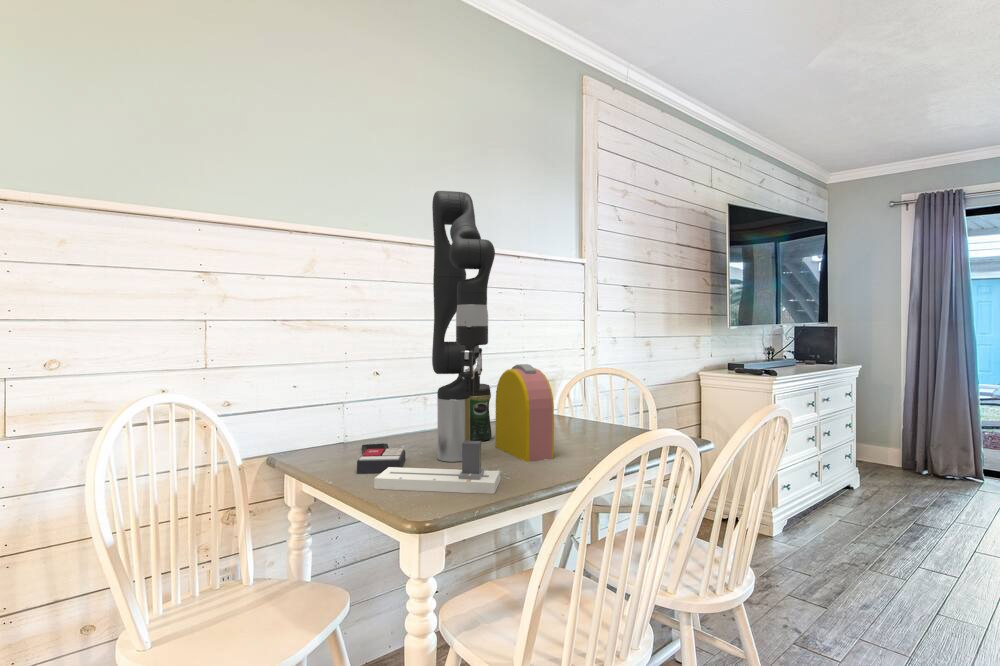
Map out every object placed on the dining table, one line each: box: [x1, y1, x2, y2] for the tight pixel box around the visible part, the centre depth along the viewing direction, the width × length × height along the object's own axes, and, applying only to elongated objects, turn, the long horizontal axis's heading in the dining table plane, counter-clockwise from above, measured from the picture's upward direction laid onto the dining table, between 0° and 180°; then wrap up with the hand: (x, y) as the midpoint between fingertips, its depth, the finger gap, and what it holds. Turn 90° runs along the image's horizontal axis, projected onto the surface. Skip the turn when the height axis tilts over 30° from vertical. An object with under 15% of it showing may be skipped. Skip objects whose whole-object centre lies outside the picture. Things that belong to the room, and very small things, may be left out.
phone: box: [361, 443, 390, 456], centre depth 164 cm, size 8×1×15 cm
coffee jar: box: [470, 383, 492, 442], centre depth 181 cm, size 10×8×19 cm
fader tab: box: [459, 441, 485, 480], centre depth 129 cm, size 6×5×8 cm
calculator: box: [356, 447, 406, 475], centre depth 148 cm, size 11×4×15 cm
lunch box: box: [495, 363, 555, 463], centre depth 163 cm, size 21×9×26 cm, turn 25°
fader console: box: [373, 467, 501, 495], centre depth 130 cm, size 10×28×3 cm, turn 83°
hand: (472, 393), depth 129 cm, fingers open, 8 cm apart
